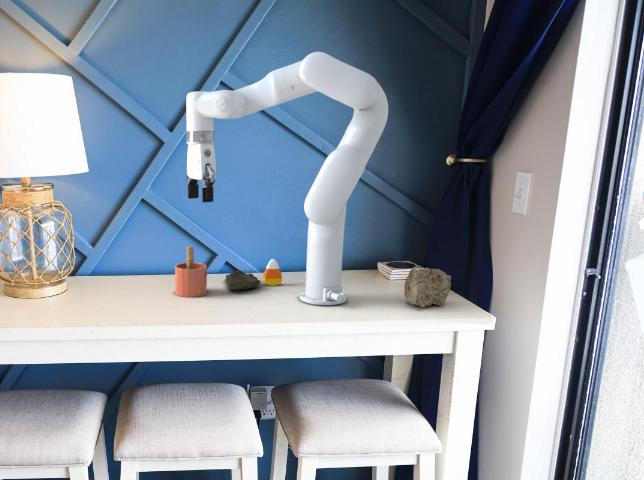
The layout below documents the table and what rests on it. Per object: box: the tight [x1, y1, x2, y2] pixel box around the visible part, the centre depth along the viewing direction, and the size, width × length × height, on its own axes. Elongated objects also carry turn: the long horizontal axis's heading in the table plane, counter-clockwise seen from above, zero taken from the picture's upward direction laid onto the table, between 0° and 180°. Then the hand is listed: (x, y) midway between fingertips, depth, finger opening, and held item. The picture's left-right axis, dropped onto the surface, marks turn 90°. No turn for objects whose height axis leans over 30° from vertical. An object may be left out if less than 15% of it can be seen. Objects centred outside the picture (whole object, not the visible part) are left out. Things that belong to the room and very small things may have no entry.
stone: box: [224, 269, 261, 291], centre depth 191 cm, size 19×4×10 cm
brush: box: [186, 245, 195, 269], centre depth 182 cm, size 5×5×13 cm
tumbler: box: [174, 262, 208, 298], centre depth 182 cm, size 9×9×8 cm
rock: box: [403, 267, 452, 308], centre depth 171 cm, size 11×12×10 cm
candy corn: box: [262, 258, 283, 287], centre depth 191 cm, size 6×3×8 cm, turn 93°
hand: (200, 200), depth 180 cm, fingers open, 9 cm apart
